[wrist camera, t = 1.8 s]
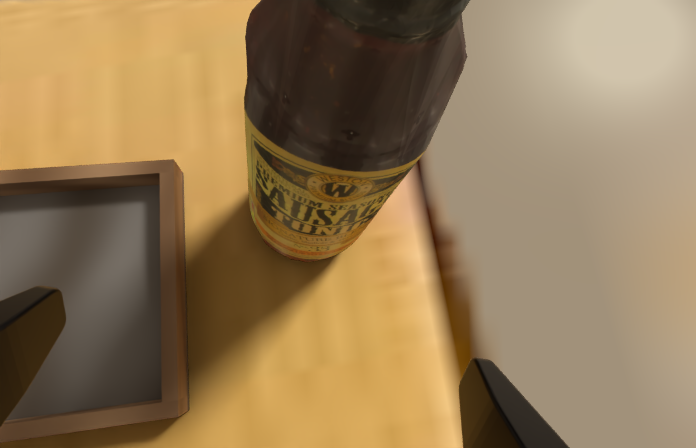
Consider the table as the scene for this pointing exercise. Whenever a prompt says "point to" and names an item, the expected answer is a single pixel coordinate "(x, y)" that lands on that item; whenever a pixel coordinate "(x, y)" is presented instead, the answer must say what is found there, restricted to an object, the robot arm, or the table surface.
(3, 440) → the walnut frame
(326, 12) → the sauce bottle
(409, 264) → the table surface
